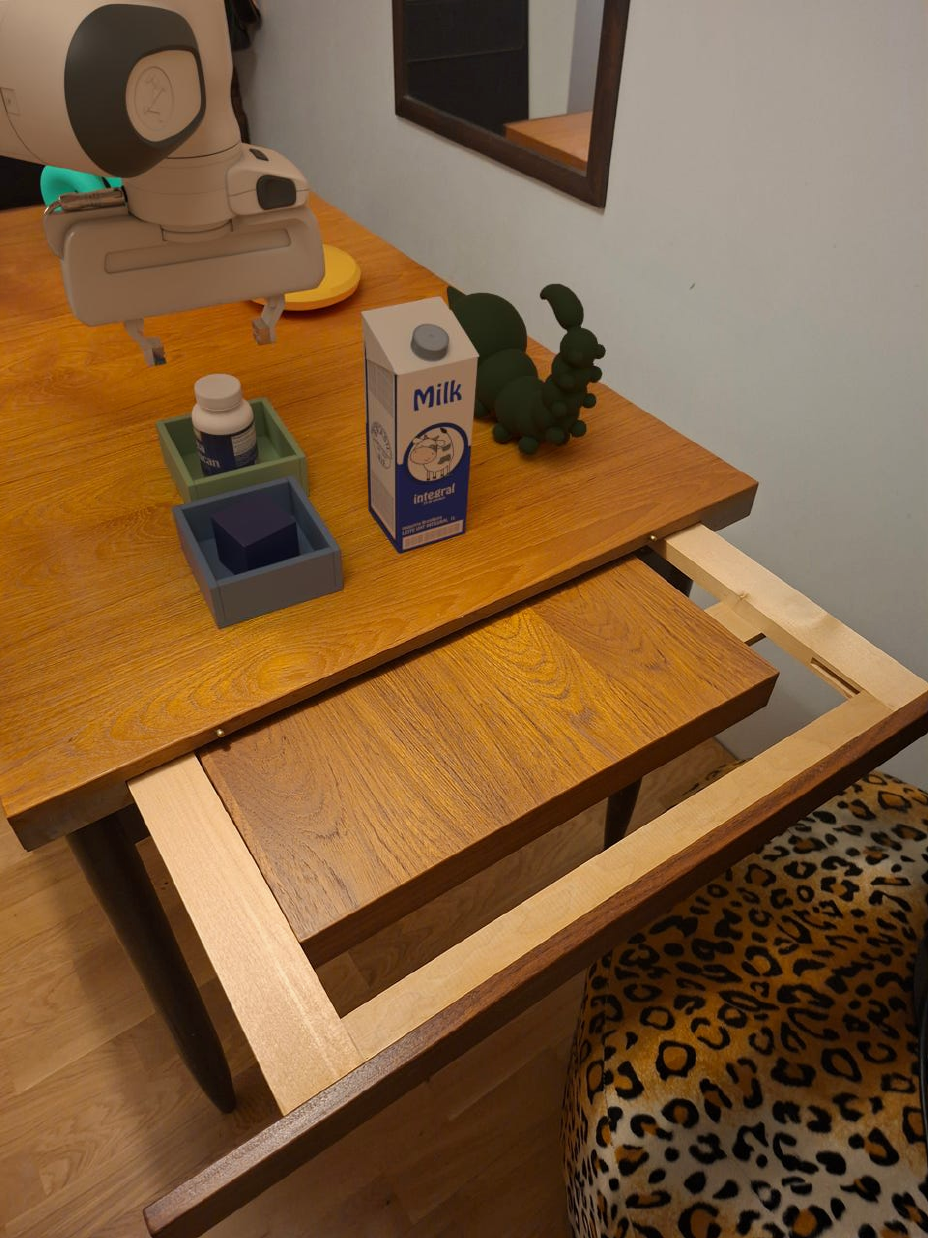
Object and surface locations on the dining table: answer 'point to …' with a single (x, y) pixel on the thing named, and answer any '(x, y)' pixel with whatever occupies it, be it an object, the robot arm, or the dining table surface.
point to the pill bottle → (223, 425)
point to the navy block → (254, 534)
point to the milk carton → (418, 420)
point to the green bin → (275, 458)
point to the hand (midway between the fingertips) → (211, 351)
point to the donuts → (70, 183)
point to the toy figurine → (529, 368)
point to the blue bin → (267, 584)
